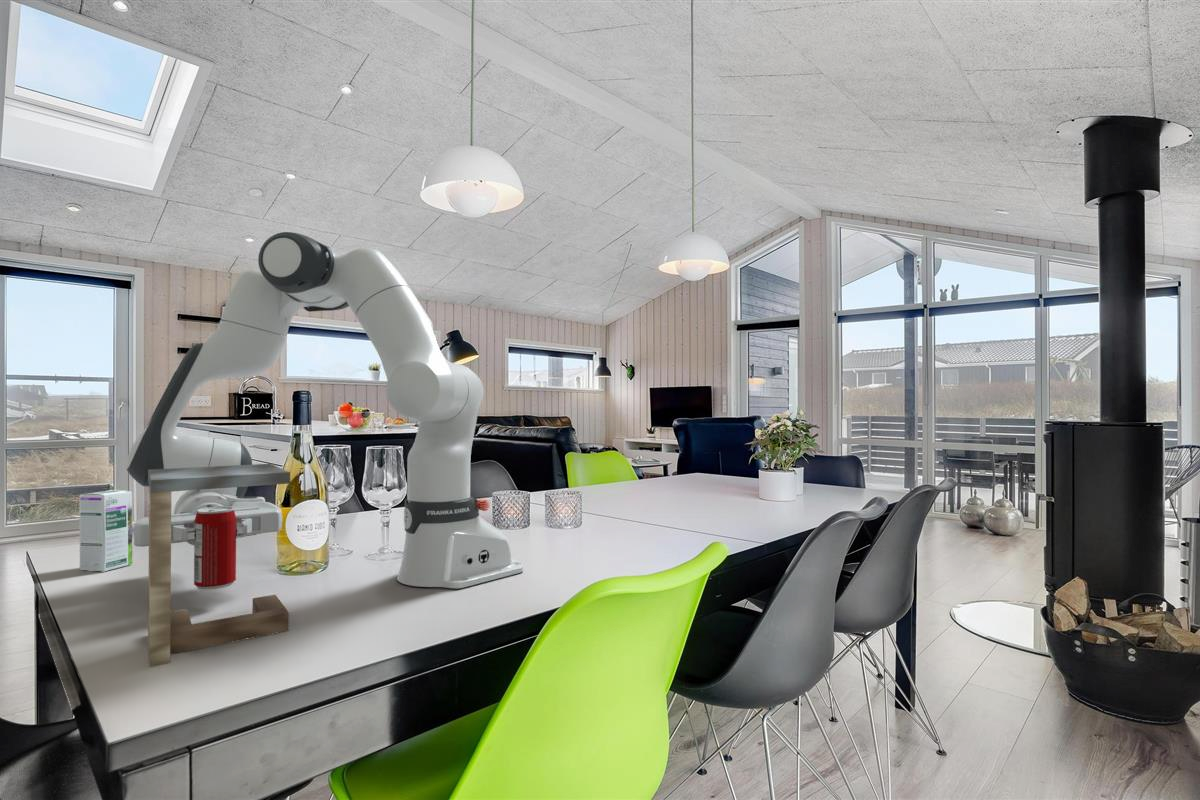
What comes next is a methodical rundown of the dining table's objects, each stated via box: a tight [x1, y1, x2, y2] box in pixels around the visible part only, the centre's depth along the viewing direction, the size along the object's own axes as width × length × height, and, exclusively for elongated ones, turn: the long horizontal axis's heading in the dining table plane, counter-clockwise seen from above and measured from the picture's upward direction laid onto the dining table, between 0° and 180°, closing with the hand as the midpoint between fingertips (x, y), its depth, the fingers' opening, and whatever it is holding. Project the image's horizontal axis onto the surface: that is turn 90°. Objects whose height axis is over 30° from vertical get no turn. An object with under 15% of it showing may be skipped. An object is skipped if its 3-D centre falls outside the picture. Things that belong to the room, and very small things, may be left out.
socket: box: [170, 594, 290, 655], centre depth 84 cm, size 14×10×2 cm
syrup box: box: [78, 489, 133, 573], centre depth 117 cm, size 6×6×14 cm
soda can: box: [193, 506, 237, 591], centre depth 95 cm, size 6×6×12 cm
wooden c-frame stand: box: [147, 463, 291, 668], centre depth 83 cm, size 15×15×22 cm
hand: (216, 533), depth 94 cm, fingers closed on soda can, 5 cm apart
